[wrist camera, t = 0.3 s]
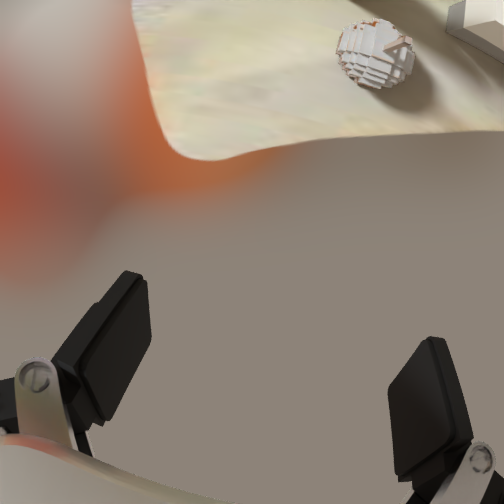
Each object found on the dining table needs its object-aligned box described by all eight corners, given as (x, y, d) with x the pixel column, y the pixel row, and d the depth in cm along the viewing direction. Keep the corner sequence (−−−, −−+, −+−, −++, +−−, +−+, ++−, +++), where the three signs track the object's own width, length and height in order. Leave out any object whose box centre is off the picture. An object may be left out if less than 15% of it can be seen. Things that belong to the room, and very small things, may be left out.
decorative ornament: (406, 39, 26) (461, 20, 14) (392, 96, 30) (443, 106, 18) (343, 17, 27) (366, -22, 14) (330, 75, 31) (346, 68, 18)
